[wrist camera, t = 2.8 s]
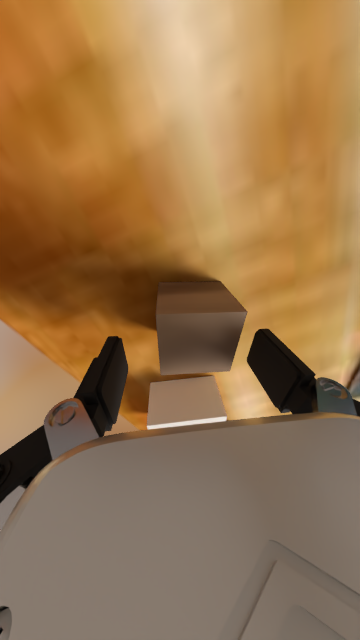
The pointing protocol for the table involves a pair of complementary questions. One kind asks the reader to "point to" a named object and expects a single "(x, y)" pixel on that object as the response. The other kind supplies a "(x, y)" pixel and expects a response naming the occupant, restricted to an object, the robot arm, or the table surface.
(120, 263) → the table surface
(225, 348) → the walnut cube
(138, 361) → the table surface
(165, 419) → the off-white block
